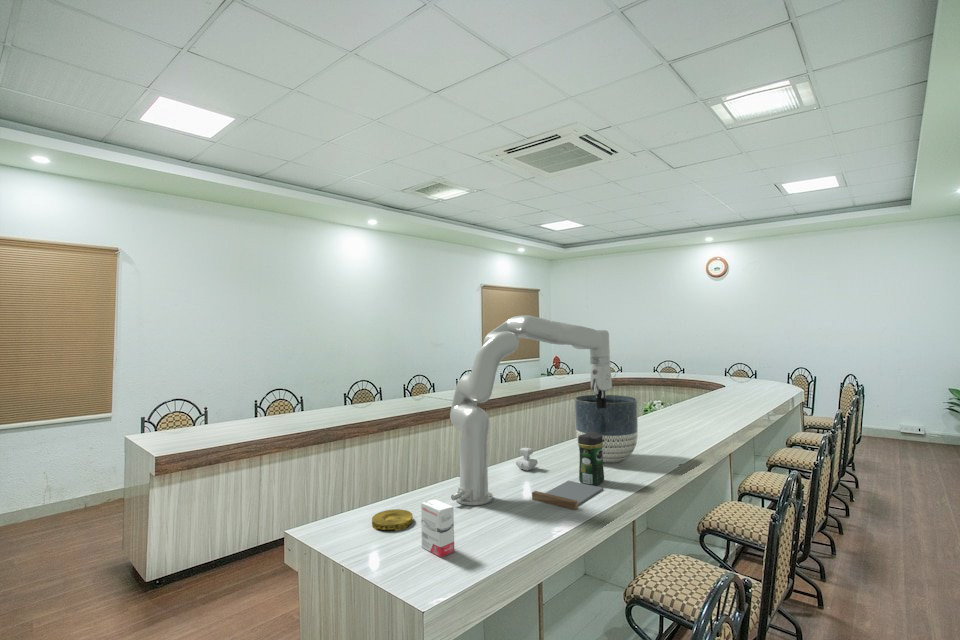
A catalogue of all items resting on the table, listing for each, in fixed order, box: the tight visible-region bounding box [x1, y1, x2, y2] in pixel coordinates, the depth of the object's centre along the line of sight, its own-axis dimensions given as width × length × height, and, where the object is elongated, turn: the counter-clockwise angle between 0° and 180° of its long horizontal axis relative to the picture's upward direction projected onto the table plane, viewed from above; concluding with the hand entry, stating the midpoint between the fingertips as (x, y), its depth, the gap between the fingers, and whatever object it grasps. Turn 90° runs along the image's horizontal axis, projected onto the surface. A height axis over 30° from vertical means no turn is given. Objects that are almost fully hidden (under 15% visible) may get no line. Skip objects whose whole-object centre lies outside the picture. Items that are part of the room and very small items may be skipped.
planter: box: [574, 394, 639, 463], centre depth 204 cm, size 27×27×27 cm
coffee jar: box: [577, 432, 605, 486], centre depth 174 cm, size 10×8×19 cm
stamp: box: [515, 447, 538, 472], centre depth 192 cm, size 9×7×8 cm
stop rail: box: [531, 490, 579, 511], centre depth 153 cm, size 2×16×2 cm, turn 51°
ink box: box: [420, 498, 455, 558], centre depth 122 cm, size 8×5×12 cm, turn 43°
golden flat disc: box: [371, 508, 414, 532], centre depth 139 cm, size 12×12×2 cm
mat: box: [545, 480, 604, 506], centre depth 162 cm, size 21×14×1 cm, turn 141°
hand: (601, 407), depth 183 cm, fingers closed
